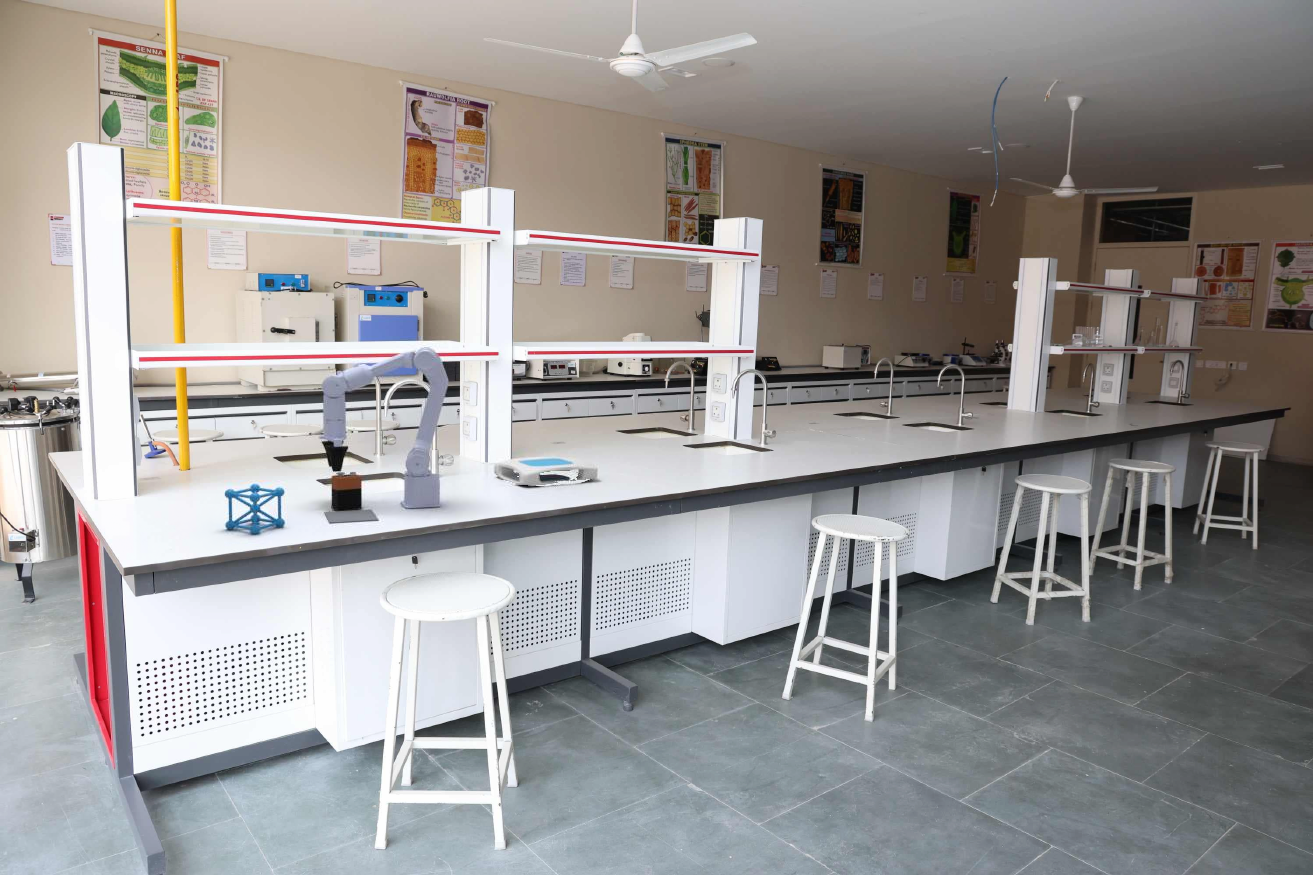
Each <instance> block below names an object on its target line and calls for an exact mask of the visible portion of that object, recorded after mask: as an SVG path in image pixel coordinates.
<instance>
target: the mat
mask: <svg viewBox="0 0 1313 875" xmlns="http://www.w3.org/2000/svg"><path fill="white" fill-rule="evenodd" d="M323 514H324V516H325V517H326V520H327V521H328V524H343V523H360V522H362V523H363V522H375V521H376V522H378V521H379V518H378V516H377V515H376V513H375V512H374V511H373V510H372V509H354V510H344V511H337V510H334V511H323Z"/></svg>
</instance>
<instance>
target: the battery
mask: <svg viewBox="0 0 1313 875" xmlns="http://www.w3.org/2000/svg"><path fill="white" fill-rule="evenodd" d="M330 477H331V481H330V482H331V509H332V510H334V511H351V510H362V508H363V506H362V504H363V503H362V501H363V498H362V494H363V493H362V490H363V489H362V486H363V485H362V475H359V474H357V473H356V471H352V472H351V471H350V472H349V474H346V472H342V471H340V472H336V474H335V475H332V476H330Z"/></svg>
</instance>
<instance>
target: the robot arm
mask: <svg viewBox="0 0 1313 875" xmlns="http://www.w3.org/2000/svg"><path fill="white" fill-rule="evenodd" d="M414 367H415V368H416V369H417V370H418V371H419V372H421V373H422V374H423V375H424V376H425V378H426V379H427V381H428V382H429V384H430V387H429V392H428V394H427V398H426V403H425V406H424V408H423V412H422V416H421V420H420V423H419V426H418V431H417V434H416V438H415V440H414V443H413V444H414V445H413V446H412V448H411V450H409V452H408V454H407V457H406V460H405V469H406V471H404V478H403V479H404V481H403V482H404V483H403V484H404V488H403V491H404V496H403V499H404V500H400V504H401V505H402V506H403V507H404V509H420V508H437V507H441V502H440V500H441V498H440V497H441V493H440V492H441V488H440V487H441V480H440V476H439V474H438V473H432V471H431V470H430V469H429V467H430V462H431V455H430V451H431V448H432V443H433V439H434V436H435V433H436V430H437V429H436V428H437V425H438V423H439V419H440V416H441V415H440V414H441V411H442V408H443V404H444V401H445V397H446V393H447V390H448V387H449V378H448V376H447V372H446V369H445V367H444V364H443V361H442V359H441V357H440V356H439V354H438V353H437V352H436V351H435V350H434V349H432V348H430V347H425V346H424V347H421V348H418V350H417V349H413V350H409V351H408V350H407V351H405V352H401V353H399V354H396V355H393V356H392V357H391V356H390V357H389V358H387V359H384V360H382V361H380V362H377V363H375V364H372V365H367V364H365V363H361V364H360V363H359V362H358V363H355V364H353V367H350V368H349V369H346V370H342V371H341V370H338V371H336V374H332V375H329V376H328V377H326V378H324V379H323V381H322V382H321V383H322V384H321V390H322V392H323V403H322V406H323V408H322V410H323V411H322V415H323V416H322V417H323V418H322V419H323V434H322V435H318V439H319V440H322V441H321V444H322V446H323V448H324V451H325V453H326V454H325V455H326V459H327V464H328V467H329V468H331V470H332V472H333V473H335V472H336V473H338V472H342V470H343V465H344V460H345V455H346V453H348V452H347V451H348V450H349V446H348V445H344V441H345V440H347V438H348V437H347V436H348V435H347V427H346V426H347V422H346V416H347V415H346V414H347V412H346V411H347V410H346V407H347V406H346V399H345V398H346V394H345V392H353V391H355V390H358V389H360V388H362V387H365V386H368V385H370V384H373V381H374V379H375V378H376V377H378V376H380V375H383V374H387V373H389V372H391V371H392V372H393V371H394V370H397V369H401V368H407V369H413V368H414Z"/></svg>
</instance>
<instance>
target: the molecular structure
mask: <svg viewBox="0 0 1313 875" xmlns="http://www.w3.org/2000/svg"><path fill="white" fill-rule="evenodd" d="M248 492H251V494H243V493H248ZM259 492H266V493H263V494H259ZM284 495H285V489H284V488H282V487H280V486H278V487H276V488H275V489H270V488H263V487H261V486H260V485H259V484H257V483H253V484H251V485H250V486H249V488H248V487H247V488H244V489H240V490H239V489H238V490H236V491H235V490H234V489H232V488H229V489H226V490H225V492H224V496H225V498H226V499H228V520H227V521H226V523H225V525H224V526H225V528H226V529H227V530H228V531H233V530H235V529H242V530H249V532H250V533H251V534H253V535H257V534H259V533H260V532H261V530H263V529H267V528H271V527H274V526H275V527H276V528H283V527H284V526H285V524H286V522H285V519H284V518H283V517H282V497H283V496H284ZM266 497H267V498H266ZM276 497H277V518H276V517H274V516H272V515H271V514H268V513H266V512H265V511H263V510H262V509H261V507H262V506H263V505H265V504H267V503H268V502H270V501H271V500H272V499H274V498H276ZM243 498H245V499H249V501H250V502H251V503H250V502H248V501H246V500H245V499H243ZM261 498H265V499H264V500H263V501H261V502H260V503H259V501H260V500H261ZM233 499H235V500H237V501H238V502H240V503H242V504H244V505H245V506H247V507H249V510H248V511H246V512H245V513H244V514H242V515H241V516H239V517H238V518H236V519H235V520H233ZM252 503H253V504H252ZM258 503H259V504H258ZM258 513H259V514H261V515H262V516H264V517H266V518H268V519H266V518H262V517H261V515H259V514H258ZM250 514H251V516H250V518H246V517H247V516H249V515H250ZM245 518H246V519H245ZM243 519H244V520H243ZM250 522H251V523H252V525H251V526H247V525H244V524H247V523H250ZM260 522H265V523H268V524H265V525H264V524H263V525H259V523H260Z"/></svg>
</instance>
